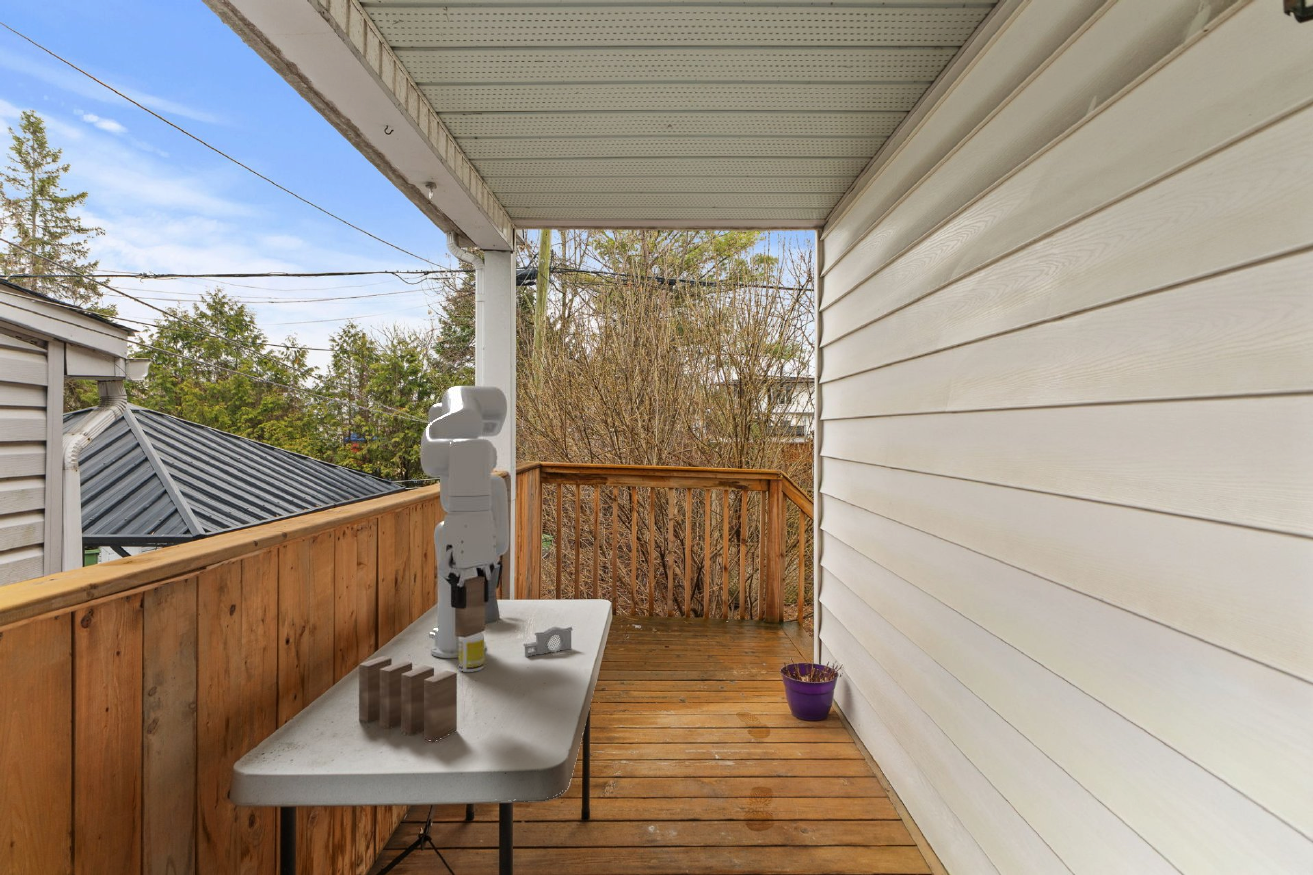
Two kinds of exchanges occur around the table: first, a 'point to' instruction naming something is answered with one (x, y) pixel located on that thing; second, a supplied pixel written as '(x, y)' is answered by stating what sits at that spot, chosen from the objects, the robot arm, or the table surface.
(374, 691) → the domino
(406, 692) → the domino
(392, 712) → the domino
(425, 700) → the domino
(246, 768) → the table surface
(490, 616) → the coffeepot
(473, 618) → the domino
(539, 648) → the garden wall model
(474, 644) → the supplement bottle
